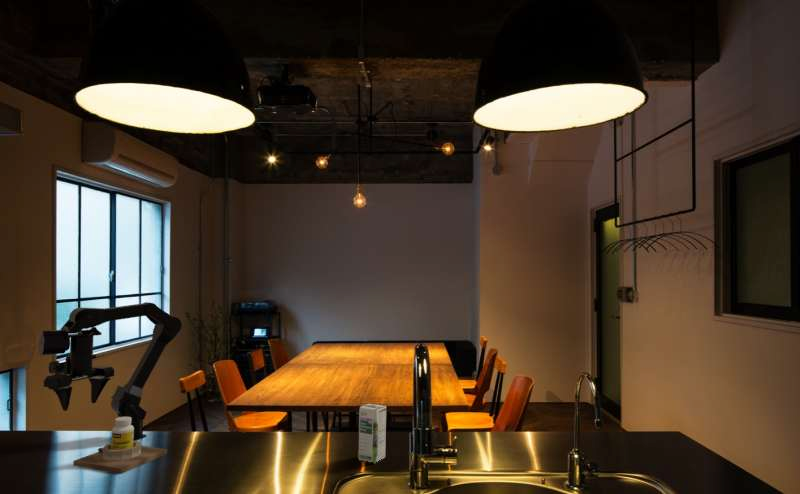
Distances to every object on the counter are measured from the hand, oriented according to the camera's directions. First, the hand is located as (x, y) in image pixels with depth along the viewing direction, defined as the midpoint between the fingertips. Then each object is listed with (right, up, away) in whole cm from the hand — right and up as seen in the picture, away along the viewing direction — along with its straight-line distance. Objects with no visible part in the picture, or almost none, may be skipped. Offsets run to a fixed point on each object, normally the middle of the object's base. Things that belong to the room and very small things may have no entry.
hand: (79, 406), depth 157 cm
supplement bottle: (+16, -11, -8) cm, 21 cm away
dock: (+16, -12, -8) cm, 22 cm away
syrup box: (+84, -13, -5) cm, 85 cm away
